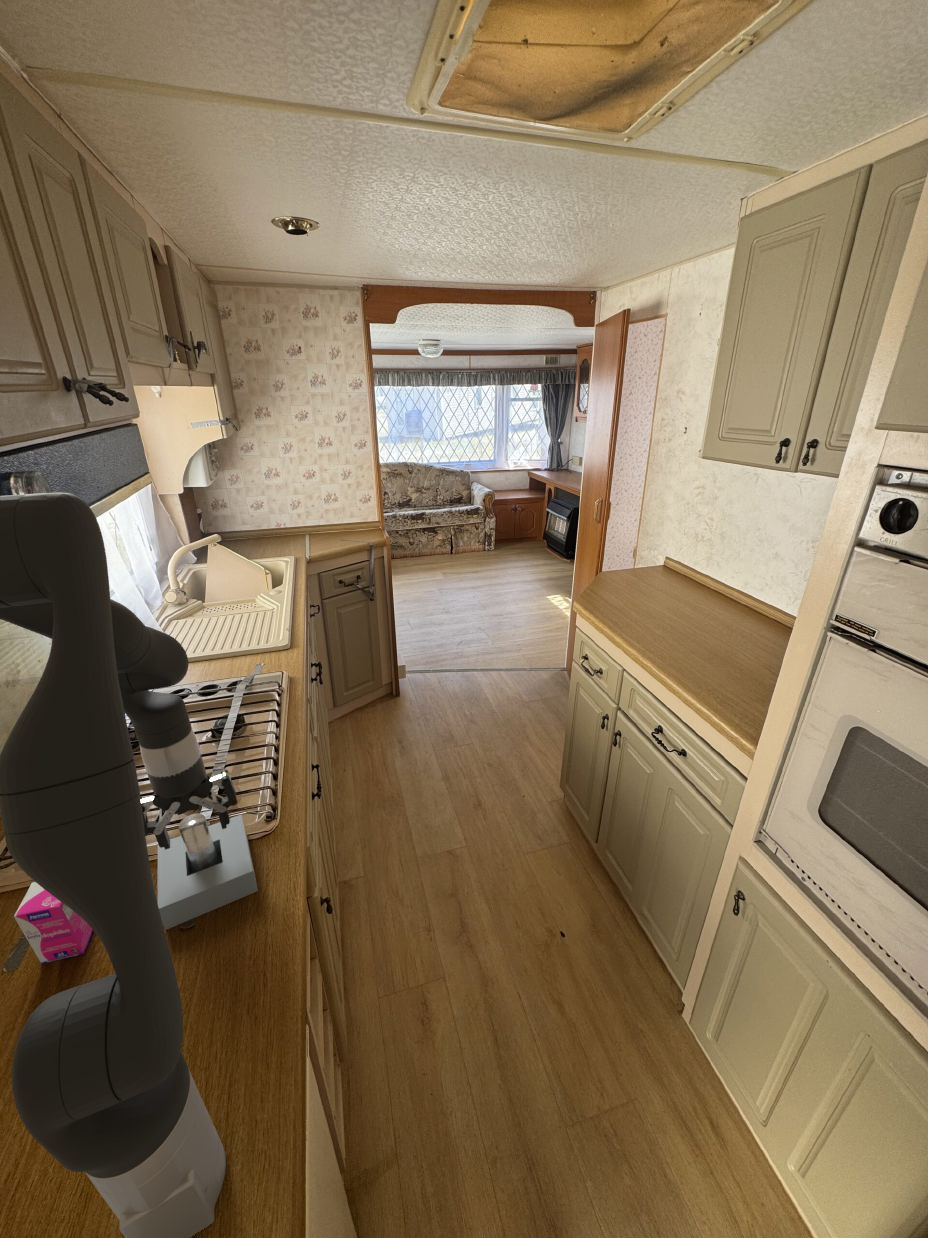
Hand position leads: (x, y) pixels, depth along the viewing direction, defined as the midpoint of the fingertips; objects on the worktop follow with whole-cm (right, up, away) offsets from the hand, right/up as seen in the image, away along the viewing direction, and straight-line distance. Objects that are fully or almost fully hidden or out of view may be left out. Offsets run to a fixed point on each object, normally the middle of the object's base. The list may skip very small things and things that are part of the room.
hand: (196, 835), depth 84 cm
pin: (0, -8, +4) cm, 9 cm away
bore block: (0, -9, +5) cm, 10 cm away
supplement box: (-17, -14, -6) cm, 23 cm away
